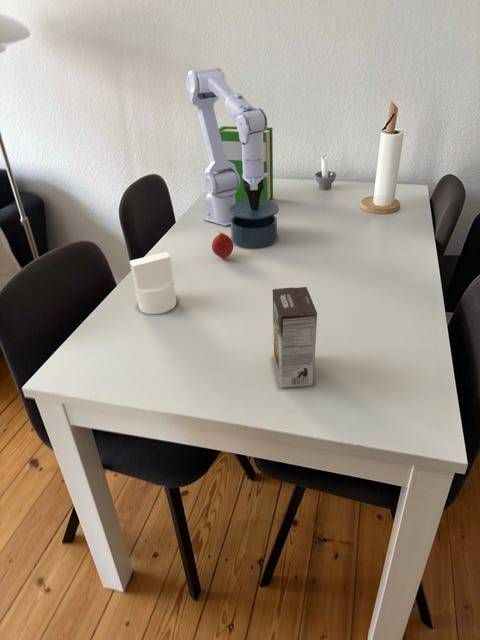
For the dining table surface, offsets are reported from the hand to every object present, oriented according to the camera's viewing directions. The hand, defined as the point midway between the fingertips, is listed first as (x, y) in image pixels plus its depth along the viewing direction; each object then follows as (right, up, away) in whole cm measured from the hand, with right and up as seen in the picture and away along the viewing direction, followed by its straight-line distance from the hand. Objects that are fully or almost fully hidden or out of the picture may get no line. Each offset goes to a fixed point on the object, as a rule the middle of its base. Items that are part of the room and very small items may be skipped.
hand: (254, 206), depth 136 cm
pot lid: (0, -1, +1) cm, 1 cm away
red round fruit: (-9, -16, -4) cm, 18 cm away
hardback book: (-2, +10, +33) cm, 35 cm away
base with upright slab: (-24, -29, -22) cm, 44 cm away
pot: (0, -8, +6) cm, 10 cm away
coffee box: (+6, -43, -45) cm, 63 cm away
